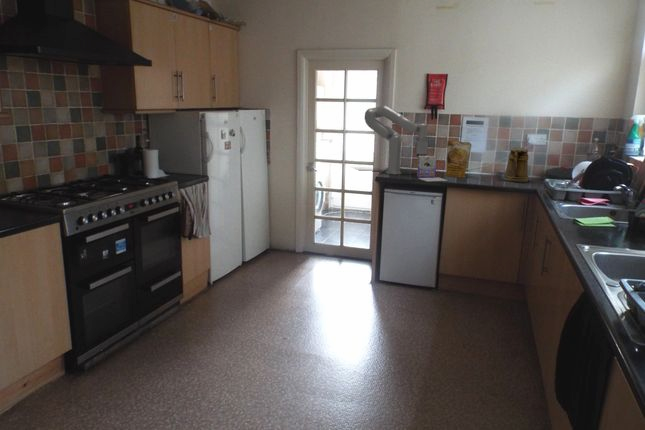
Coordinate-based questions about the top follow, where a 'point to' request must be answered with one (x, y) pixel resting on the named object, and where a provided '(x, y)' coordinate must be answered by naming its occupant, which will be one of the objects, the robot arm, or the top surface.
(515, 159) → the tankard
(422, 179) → the mat
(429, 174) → the candy box
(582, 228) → the top surface
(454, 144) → the pancake mix bag
